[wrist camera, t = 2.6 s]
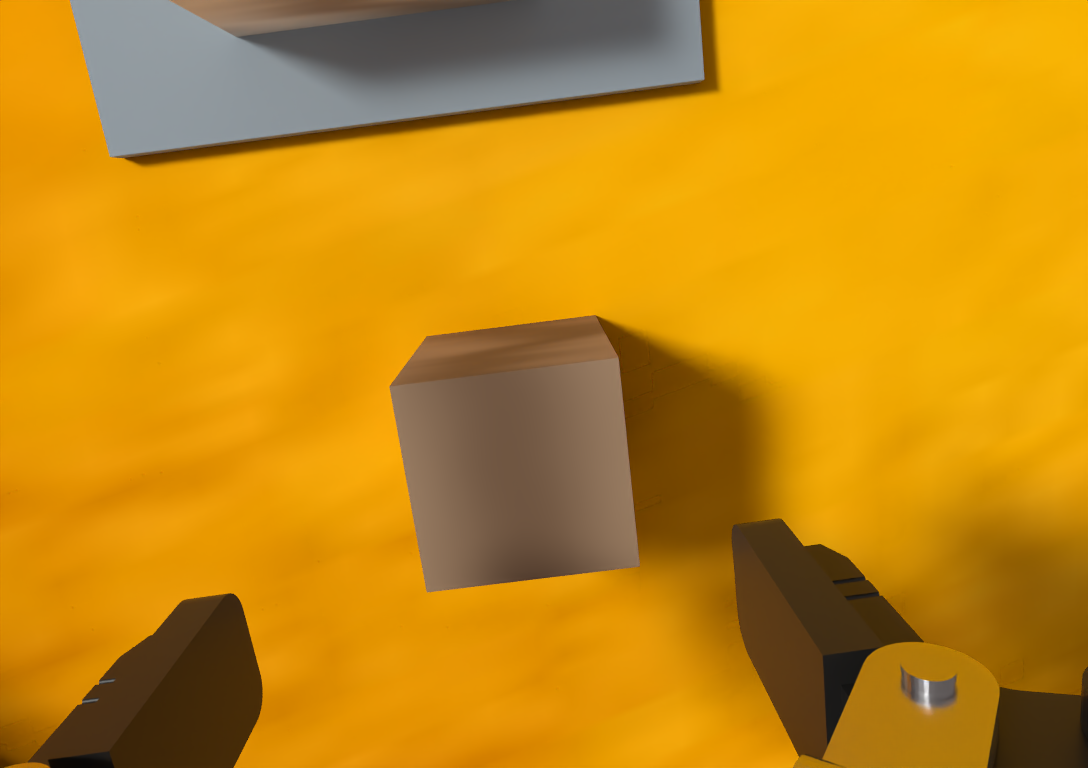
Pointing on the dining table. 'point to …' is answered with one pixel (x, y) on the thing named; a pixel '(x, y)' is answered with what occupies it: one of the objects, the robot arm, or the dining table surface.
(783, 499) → the dining table surface
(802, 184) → the dining table surface
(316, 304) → the dining table surface
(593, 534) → the walnut block
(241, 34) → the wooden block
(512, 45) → the mat
